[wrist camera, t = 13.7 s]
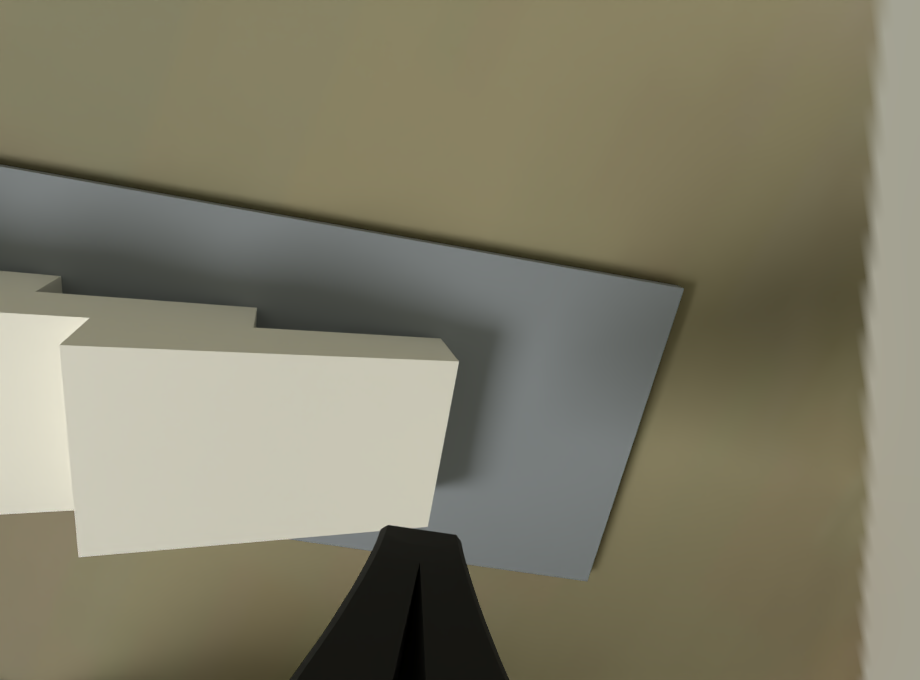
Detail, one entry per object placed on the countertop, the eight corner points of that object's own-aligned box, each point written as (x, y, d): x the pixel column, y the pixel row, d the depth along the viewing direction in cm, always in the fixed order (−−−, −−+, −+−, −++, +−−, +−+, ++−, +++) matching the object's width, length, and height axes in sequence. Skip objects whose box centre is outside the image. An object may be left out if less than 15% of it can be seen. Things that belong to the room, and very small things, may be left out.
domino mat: (584, 571, 16) (587, 581, 16) (-342, 440, 15) (-363, 447, 14) (677, 285, 13) (684, 288, 13) (-486, 77, 12) (-518, 74, 11)
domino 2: (427, 527, 14) (78, 557, 11) (414, 490, 15) (102, 508, 12) (459, 361, 12) (59, 345, 9) (440, 338, 13) (89, 317, 10)
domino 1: (245, 500, 13) (-162, 523, 10) (249, 465, 15) (-108, 478, 12) (253, 327, 12) (-225, 299, 9) (256, 307, 13) (-154, 277, 10)
